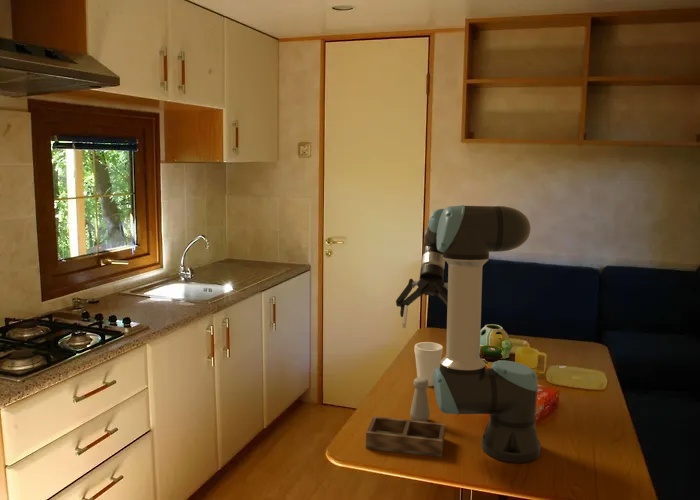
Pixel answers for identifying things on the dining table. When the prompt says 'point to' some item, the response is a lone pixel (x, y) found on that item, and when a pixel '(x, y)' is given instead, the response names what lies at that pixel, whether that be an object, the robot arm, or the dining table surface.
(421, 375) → the foam cup
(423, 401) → the salt shaker
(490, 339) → the turtle holder
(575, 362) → the dining table surface
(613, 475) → the dining table surface
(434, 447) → the wooden compartment tray
